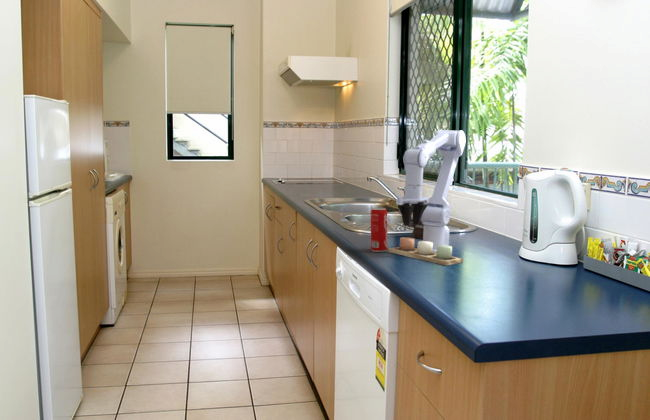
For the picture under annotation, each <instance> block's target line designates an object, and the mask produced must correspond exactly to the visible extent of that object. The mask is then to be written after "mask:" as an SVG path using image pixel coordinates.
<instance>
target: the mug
mask: <svg viewBox="0 0 650 420" xmlns="http://www.w3.org/2000/svg"><path fill="white" fill-rule="evenodd" d="M408 227H409V228H413V230H412V232H411V233H412V234H411V235H412V238H414V239H419V240H423V232H424V224H422V222H421V220H420V223H419V225H414V224H413V220H411V221H410V226H407V228H408Z"/></svg>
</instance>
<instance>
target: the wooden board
mask: <svg viewBox="0 0 650 420" xmlns="http://www.w3.org/2000/svg"><path fill="white" fill-rule="evenodd" d="M417 250H418V248H416V247H414V250H403V249H400V246H397V247H389V248H388V247H387V252H388V253H392V254H396V255H400V256H405V257H409V258H413V259H417V260H421V261H426V262H430V263H432V264H433V263H434V264H438V265H442V266H451V265H457V264H461V263H464V258H461V257H457V256H452V258H438V257H436V252H433V251H432V254H421V253H418V252H417Z"/></svg>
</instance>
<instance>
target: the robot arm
mask: <svg viewBox="0 0 650 420" xmlns="http://www.w3.org/2000/svg"><path fill="white" fill-rule="evenodd" d="M466 139H467V137H466V133H465V132H464V130H461V129H460V130H451V129H450V130H449V129H447V130H446V129H438V130H437V131H435V133H434V136H433V137H432V138H431V139H430V140H427V139H424V140H421V141H422V142H421V143H420V144H418V145H416V146H415V147H414V148H409V149H407V150H406V151H405V152H404V154H403V157H402V159H403V165H404V168H403V169H404V171H405V178H404V179H405V181H404V183H405V184H404V196H402V197H400V198H396V200H395V205H397V207H398V209H399V212H400V214H401V218H402V224H403V226H405V227H408V226H410V221H412V222H413V224H414V225H419V223H420V220H421V222H422V224H424V232H423V239H422V241H429V242H433V251H432V252H435V253H436V250H437V245H448V246H450V245H449V244H450V229H449V227H448V226H447V225H448V224H449V222H450V220H451V211H452V207H451V205H450V203H449V202H448V201H447V198H448V195H449V191H450V188H451V185H452V182H453V178H454V174H455V170H456V168H457V164H458V162H459V157H461V156H463V152H464V150H465V146H466V142H467V140H466ZM437 151H438V153H439V155H440V156H441V157H443V160H442V163H441V166H440V170H439V172H438V176H437V179H436V182H435V185H434V186H435V187H434V189H433V193H432V195H431V197H427V196H423V195H422V194H423V181H424V180H423V179H424V167H426V165H427V163H428V161H429V159H430V158H431V157H433V156H434V155H435V154H436V152H437ZM411 219H412V220H411ZM417 249H418V246H417Z"/></svg>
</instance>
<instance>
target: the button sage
mask: <svg viewBox="0 0 650 420" xmlns="http://www.w3.org/2000/svg"><path fill="white" fill-rule="evenodd" d="M435 253H436V257H438V258H452V255H453V246H452V245H449V246H448V245H437V250H436V252H435Z"/></svg>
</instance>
